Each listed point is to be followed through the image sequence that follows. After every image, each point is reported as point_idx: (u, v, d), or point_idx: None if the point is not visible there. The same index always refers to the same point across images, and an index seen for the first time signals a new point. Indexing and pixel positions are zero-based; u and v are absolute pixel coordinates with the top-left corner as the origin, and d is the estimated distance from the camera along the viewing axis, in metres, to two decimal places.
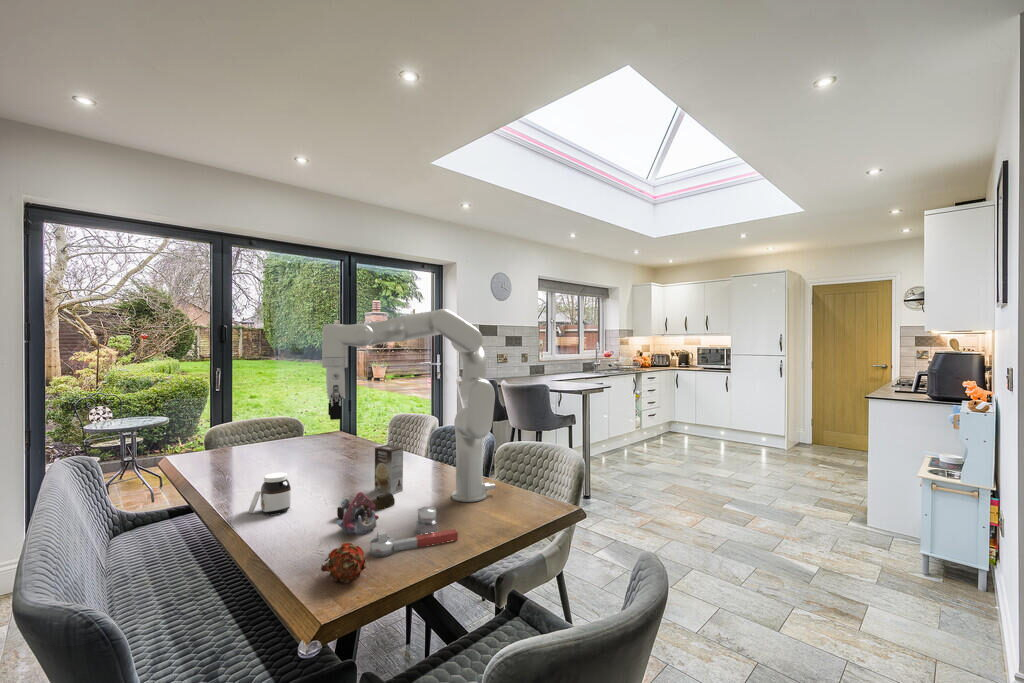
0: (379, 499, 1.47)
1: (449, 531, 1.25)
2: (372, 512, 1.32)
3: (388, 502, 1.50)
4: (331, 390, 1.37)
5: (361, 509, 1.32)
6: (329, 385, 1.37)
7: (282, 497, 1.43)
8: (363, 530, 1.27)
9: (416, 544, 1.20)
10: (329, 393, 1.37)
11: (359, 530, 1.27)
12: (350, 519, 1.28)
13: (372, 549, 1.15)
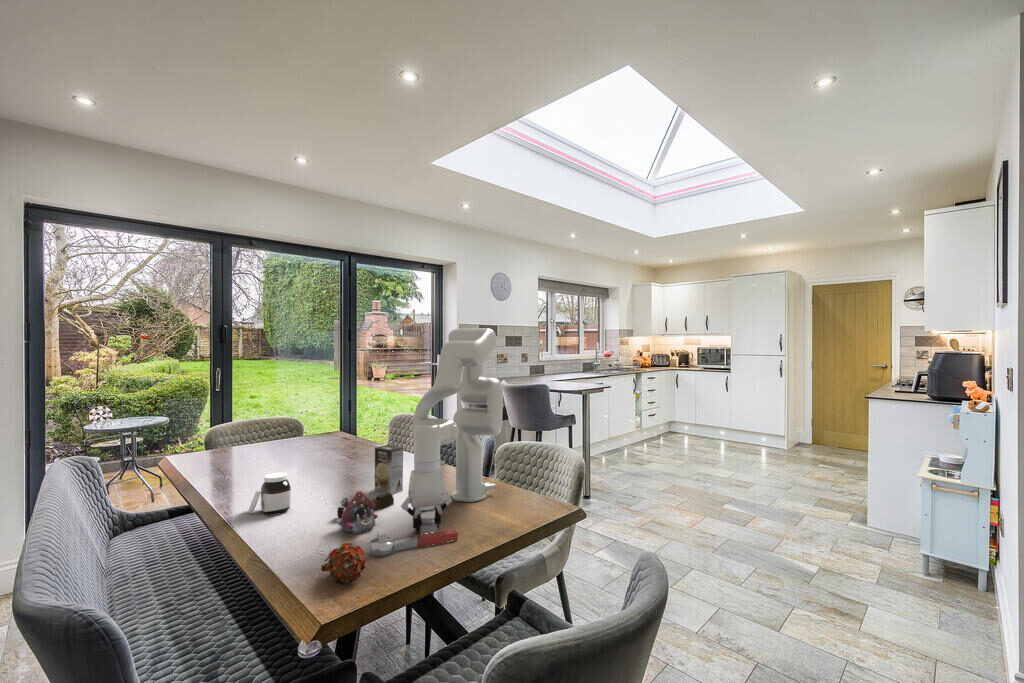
0: (379, 499, 1.48)
1: (449, 531, 1.25)
2: (371, 511, 1.33)
3: (388, 502, 1.50)
4: (444, 493, 1.32)
5: (360, 508, 1.33)
6: (444, 488, 1.31)
7: (282, 497, 1.43)
8: (362, 529, 1.28)
9: (416, 544, 1.20)
10: (444, 497, 1.31)
11: (358, 529, 1.28)
12: (349, 518, 1.29)
13: (372, 549, 1.15)
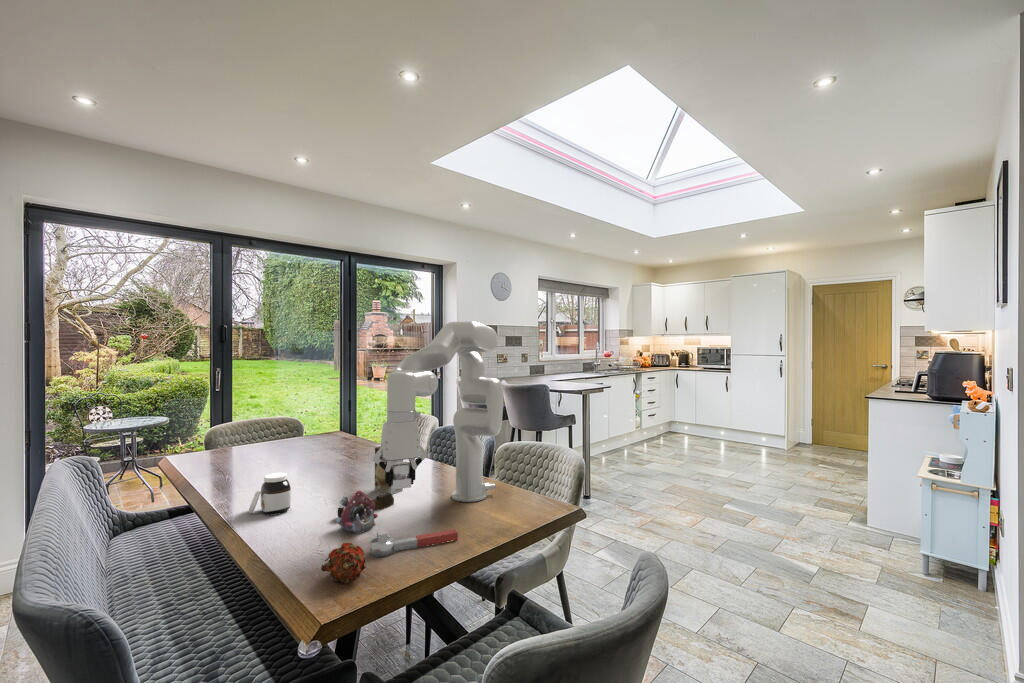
0: (379, 499, 1.48)
1: (449, 531, 1.25)
2: (371, 511, 1.33)
3: (388, 502, 1.50)
4: (419, 446, 1.23)
5: (360, 507, 1.33)
6: (419, 441, 1.23)
7: (282, 497, 1.43)
8: (361, 528, 1.29)
9: (416, 544, 1.20)
10: (419, 450, 1.23)
11: (357, 529, 1.29)
12: (348, 517, 1.30)
13: (372, 549, 1.15)
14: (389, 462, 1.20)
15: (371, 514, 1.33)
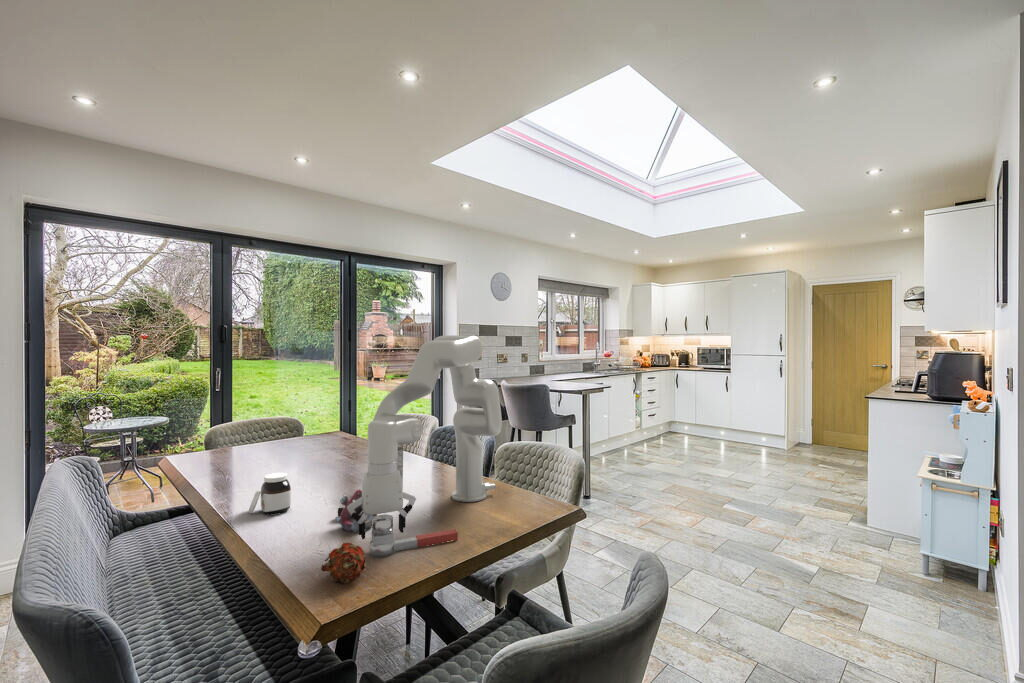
0: None
1: (449, 531, 1.25)
2: None
3: None
4: (402, 498, 1.18)
5: (359, 506, 1.34)
6: (402, 493, 1.17)
7: (282, 497, 1.43)
8: None
9: (416, 544, 1.20)
10: (402, 502, 1.17)
11: (356, 528, 1.29)
12: (348, 516, 1.31)
13: (372, 549, 1.15)
14: (365, 514, 1.14)
15: None
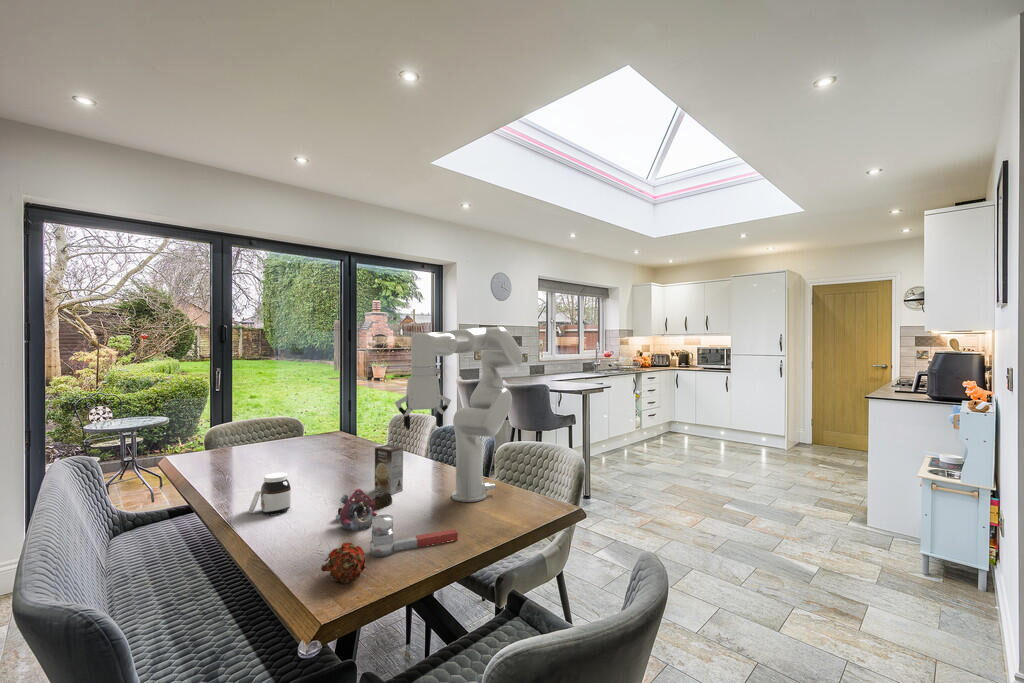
0: (378, 498, 1.48)
1: (449, 531, 1.25)
2: (369, 509, 1.34)
3: (386, 501, 1.51)
4: (440, 398, 1.41)
5: (359, 505, 1.35)
6: (439, 393, 1.40)
7: (282, 497, 1.43)
8: (359, 526, 1.30)
9: (416, 544, 1.20)
10: (439, 401, 1.40)
11: (355, 527, 1.30)
12: (347, 515, 1.32)
13: (372, 549, 1.15)
14: (410, 409, 1.37)
15: (370, 512, 1.34)
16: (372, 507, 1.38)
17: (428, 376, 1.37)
